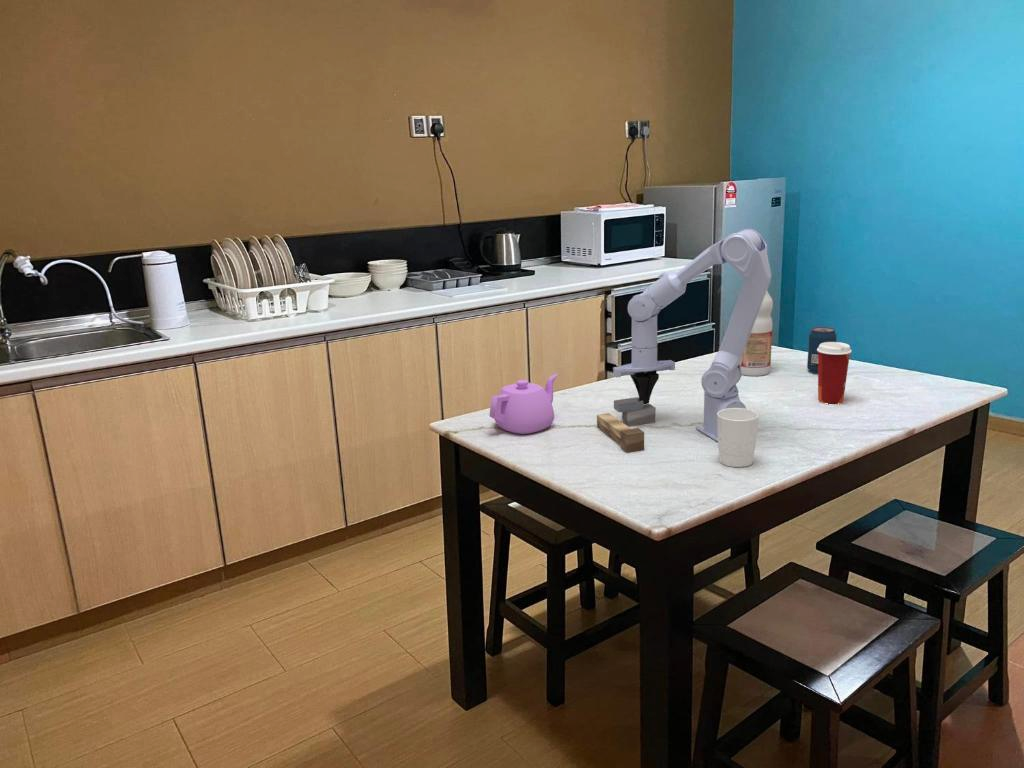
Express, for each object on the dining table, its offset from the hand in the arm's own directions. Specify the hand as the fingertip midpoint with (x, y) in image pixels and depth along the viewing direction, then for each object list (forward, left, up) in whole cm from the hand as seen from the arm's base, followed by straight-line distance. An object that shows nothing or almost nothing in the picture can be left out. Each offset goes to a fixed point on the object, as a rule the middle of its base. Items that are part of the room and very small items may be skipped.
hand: (644, 403), depth 182 cm
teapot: (+9, +26, -5) cm, 28 cm away
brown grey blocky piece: (-7, +5, -4) cm, 10 cm away
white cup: (-29, -6, -5) cm, 30 cm away
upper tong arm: (-6, +10, -3) cm, 12 cm away
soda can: (+17, -61, -5) cm, 64 cm away
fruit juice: (+25, -45, -5) cm, 52 cm away
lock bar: (0, +4, -1) cm, 4 cm away
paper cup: (-5, -47, -5) cm, 48 cm away
